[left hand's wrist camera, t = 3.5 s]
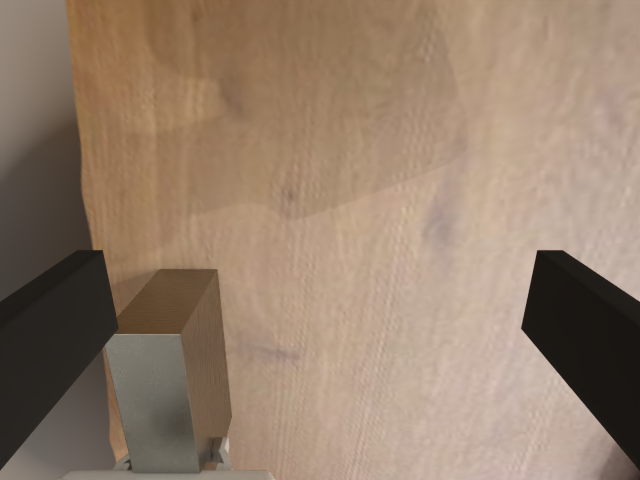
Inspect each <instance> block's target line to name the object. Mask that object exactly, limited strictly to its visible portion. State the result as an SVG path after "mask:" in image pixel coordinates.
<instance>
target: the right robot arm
mask: <svg viewBox="0 0 640 480" xmlns="http://www.w3.org/2000/svg"><path fill="white" fill-rule="evenodd" d="M228 452H229V438H228V437H215V438H214V442H213V444H212V447H211V454H212V462H220V463H218V464H217V467H216V470H201V473H199V474H160V473H133V470H132V465H131V461H130V456H129V454H127V455H126V456H125V457H123V458H122V459H121V460H119V461H118V462H117V463H116V465H115V466H114V468H113V470H71V471H69V472H67V473H66V474H64V475H63V476H61V477H60V478H58V479H57V480H275V479H274V477H273V476H272V474H271V473H270V472H269V471H267V470H233V469H232V462H231V460H230V458H229V455H228Z"/></svg>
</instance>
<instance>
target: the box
mask: <svg viewBox="0 0 640 480" xmlns="http://www.w3.org/2000/svg"><path fill="white" fill-rule="evenodd" d="M117 322H118V327H119V329H118V330H117V331H116V333H115V334H114V335H113V336H112V337H111V339H110V340H109V341H108V342H107V343H106V345H105V350H106V354H107V359H108V363H109V367H110V372H111V376H112V381H113V385H114V390H115V394H116V399H117V403H118V407H119V412H120V416H121V421H122V425H123V430H124V434H125V439H126V443H127V448H128V452H129V456H130V461H131V465H132V470H133V473H160V474H199V473H201V470H216V467H217V464H218V463H219V462H212V454H211V447H212V444H213V442H214V438H215V437H226V436H227V433H228V429H229V425H230V421H231V418H232V414H231V404H230V394H229V383H228V373H227V363H226V353H225V343H224V333H223V323H222V313H221V303H220V292H219V282H218V272H217V270H159V271H158V272H157V273H156V274H155V275H154V277H153V278H152V279H151V280H150V281H149V282H148V283H147V284H146V286H145V287H144V288H143V289H142V290H141V291H140V292H139V293H138V295H137V296H136V297H135V298H134V299H133V300H132V301H131V302H130V304H129V305H128V306H127V307H126V308H125V309H124V310H123V311H122V313H121V314H120V315H119V316H118V317H117Z"/></svg>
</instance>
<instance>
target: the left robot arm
mask: <svg viewBox="0 0 640 480" xmlns="http://www.w3.org/2000/svg"><path fill="white" fill-rule="evenodd" d="M118 329H119V327H118V322H117V317H116V312H115V308H114V303H113V298H112V293H111V288H110V283H109V279H108V274H107V269H106V264H105V259H104V255H103V250H77V251H76V252H74V253H73V254H71V255H70V256H68V257H67V258H65V259H64V260H62V261H61V262H59V263H58V264H56V265H55V266H53V267H52V268H50V269H49V270H47V271H46V272H44V273H43V274H41V275H40V276H38V277H37V278H35V279H34V280H32V281H31V282H29V283H28V284H26V285H25V286H23V287H22V288H20V289H19V290H17V291H16V292H14V293H13V294H11V295H10V296H8V297H7V298H5V299H4V300H2V301H1V302H0V470H1V469H2V468H3V467H4V465H5V464H6V463H7V462H8V461H9V459H10V458H11V457H12V456H13V455H14V453H15V452H16V451H17V450H18V449H19V447H20V446H21V445H22V444H23V443H24V441H25V440H26V439H27V438H28V437H29V435H30V434H31V433H32V432H33V431H34V429H35V428H36V427H37V426H38V425H39V423H40V422H41V421H42V420H43V419H44V418H45V416H46V415H47V414H48V413H49V412H50V410H51V409H52V408H53V407H54V406H55V404H56V403H57V402H58V401H59V400H60V398H61V397H62V396H63V395H64V394H65V392H66V391H67V390H68V389H69V388H70V386H71V385H72V384H73V383H74V382H75V380H76V379H77V378H78V377H79V376H80V374H81V373H82V372H83V371H84V370H85V368H86V367H87V366H88V365H89V364H90V362H91V361H92V360H93V359H94V358H95V357H96V355H97V354H98V353H99V352H100V350H101V349H102V348H103V347H104V346H105V345H106V343H107V342H108V341H109V340H110V339H111V337H112V336H113V335H114V334H115V333H116V331H117V330H118ZM521 329H522V330H523V331H524V333H525V334H526V335H527V336H528V337H529V339H530V340H531V341H532V342H533V343H534V345H535V346H536V347H537V348H538V349H539V351H540V352H541V353H542V354H543V355H544V357H545V358H546V359H547V360H548V361H549V362H550V364H551V365H552V366H553V367H554V368H555V370H556V371H557V372H558V373H559V374H560V376H561V377H562V378H563V379H564V380H565V382H566V383H567V384H568V385H569V386H570V388H571V389H572V390H573V391H574V392H575V394H576V395H577V396H578V397H579V398H580V400H581V401H582V402H583V403H584V404H585V406H586V407H587V408H588V409H589V410H590V412H591V413H592V414H593V415H594V416H595V418H596V419H597V420H598V421H599V422H600V424H601V425H602V426H603V427H604V428H605V429H606V431H607V432H608V433H609V434H610V435H611V437H612V438H613V439H614V440H615V441H616V443H617V444H618V445H619V446H620V447H621V449H622V450H623V451H624V452H625V453H626V455H627V456H628V457H629V458H630V459H631V461H632V462H633V463H634V464H635V465H636V467H637V468H638V469H639V470H640V302H639V301H638V300H636V299H635V298H633V297H632V296H630V295H629V294H627V293H626V292H624V291H623V290H621V289H620V288H618V287H617V286H615V285H614V284H612V283H611V282H609V281H608V280H606V279H605V278H603V277H602V276H600V275H599V274H597V273H596V272H594V271H593V270H591V269H590V268H588V267H587V266H585V265H584V264H582V263H581V262H579V261H578V260H576V259H575V258H573V257H572V256H570V255H569V254H567V253H566V252H564V251H563V250H537V255H536V259H535V264H534V269H533V274H532V279H531V283H530V288H529V293H528V298H527V303H526V308H525V312H524V317H523V322H522V327H521Z"/></svg>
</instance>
